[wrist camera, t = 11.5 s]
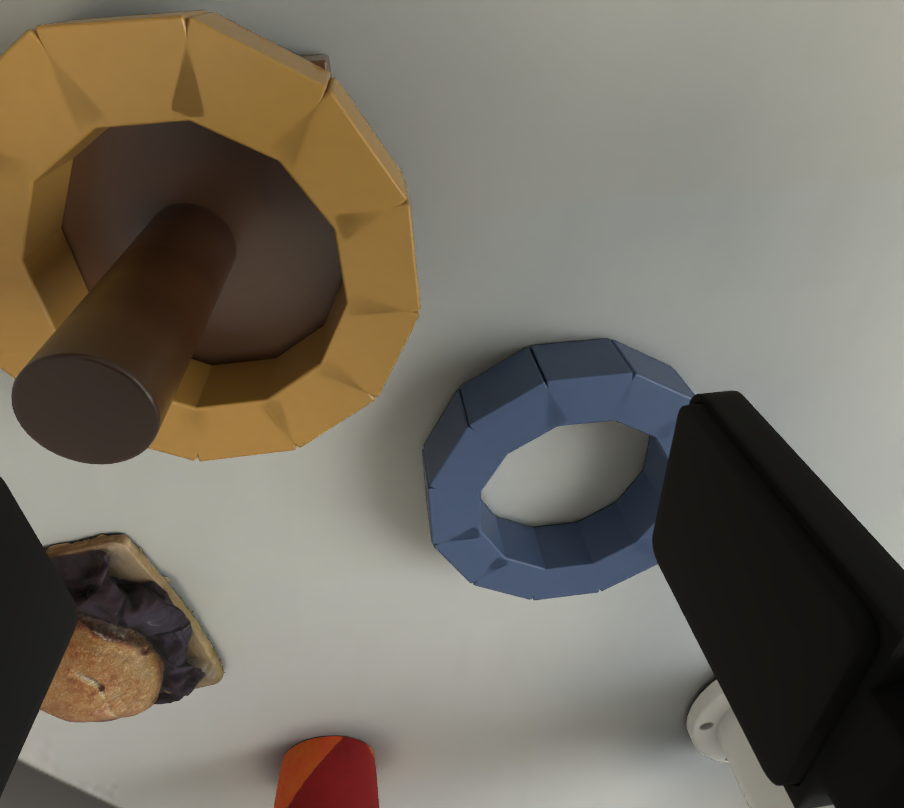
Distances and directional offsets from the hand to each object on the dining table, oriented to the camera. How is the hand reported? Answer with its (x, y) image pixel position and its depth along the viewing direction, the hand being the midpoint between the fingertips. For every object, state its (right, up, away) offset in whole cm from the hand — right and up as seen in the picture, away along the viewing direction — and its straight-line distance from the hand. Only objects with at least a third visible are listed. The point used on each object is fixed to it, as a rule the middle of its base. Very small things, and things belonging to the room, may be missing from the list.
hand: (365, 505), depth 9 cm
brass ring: (-6, +6, +9) cm, 12 cm away
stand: (-6, +7, +10) cm, 14 cm away
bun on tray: (-15, -9, +20) cm, 26 cm away
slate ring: (+6, -1, +17) cm, 18 cm away
